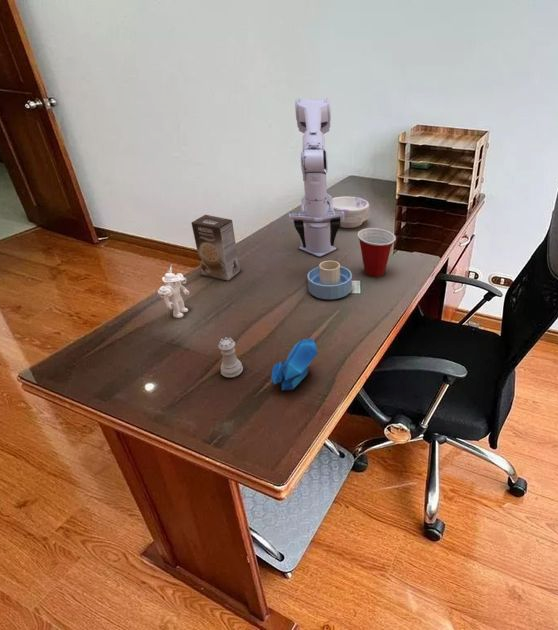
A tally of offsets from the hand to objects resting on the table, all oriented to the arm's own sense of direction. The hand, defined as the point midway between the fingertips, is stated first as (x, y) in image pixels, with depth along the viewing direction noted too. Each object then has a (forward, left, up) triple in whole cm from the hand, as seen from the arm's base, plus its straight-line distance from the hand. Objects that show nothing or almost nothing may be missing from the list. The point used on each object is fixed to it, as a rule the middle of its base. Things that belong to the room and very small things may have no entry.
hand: (318, 245), depth 122 cm
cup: (+8, -4, -9) cm, 13 cm away
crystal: (+28, -35, -10) cm, 46 cm away
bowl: (+8, -4, -9) cm, 13 cm away
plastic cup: (+11, +12, -10) cm, 19 cm away
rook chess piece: (+16, -42, -10) cm, 46 cm away
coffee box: (-22, -18, -10) cm, 30 cm away
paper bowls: (-20, +35, -10) cm, 41 cm away
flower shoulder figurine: (-12, -37, -10) cm, 40 cm away
